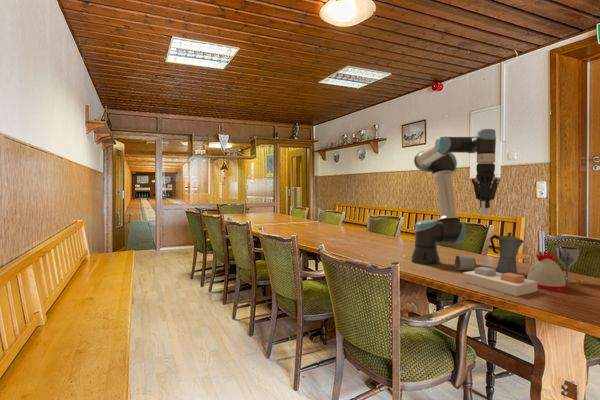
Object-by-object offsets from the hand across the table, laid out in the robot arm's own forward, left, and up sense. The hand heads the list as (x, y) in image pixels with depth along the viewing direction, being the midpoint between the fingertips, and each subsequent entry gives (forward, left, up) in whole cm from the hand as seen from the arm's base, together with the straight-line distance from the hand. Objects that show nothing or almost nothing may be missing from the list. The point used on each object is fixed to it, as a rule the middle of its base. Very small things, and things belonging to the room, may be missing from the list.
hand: (484, 215), depth 163 cm
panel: (+11, -6, -29) cm, 32 cm away
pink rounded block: (+17, -6, -27) cm, 32 cm away
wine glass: (+20, +30, -30) cm, 47 cm away
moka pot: (-2, +20, -30) cm, 36 cm away
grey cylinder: (-16, +7, -30) cm, 34 cm away
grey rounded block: (+5, -6, -27) cm, 28 cm away
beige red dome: (+20, +13, -30) cm, 38 cm away
